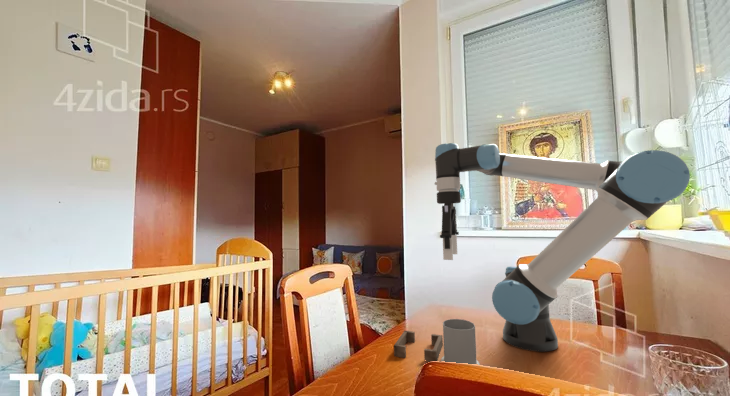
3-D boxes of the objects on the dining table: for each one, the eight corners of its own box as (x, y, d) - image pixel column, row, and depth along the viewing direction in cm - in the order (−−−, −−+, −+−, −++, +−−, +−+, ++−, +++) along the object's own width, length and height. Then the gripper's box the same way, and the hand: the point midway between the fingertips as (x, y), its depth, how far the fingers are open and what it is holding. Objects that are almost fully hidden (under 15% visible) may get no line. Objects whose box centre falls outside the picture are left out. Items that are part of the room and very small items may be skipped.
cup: (479, 371, 76) (477, 330, 76) (445, 368, 77) (444, 329, 78) (473, 355, 84) (471, 319, 85) (443, 353, 86) (442, 318, 86)
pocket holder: (442, 345, 92) (442, 335, 92) (436, 363, 81) (436, 351, 81) (405, 339, 97) (404, 330, 97) (394, 356, 86) (393, 345, 86)
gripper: (442, 194, 111) (444, 251, 109) (429, 189, 88) (432, 262, 86) (463, 193, 108) (465, 252, 106) (456, 187, 85) (459, 263, 83)
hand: (450, 256), depth 96 cm, fingers open, 13 cm apart
